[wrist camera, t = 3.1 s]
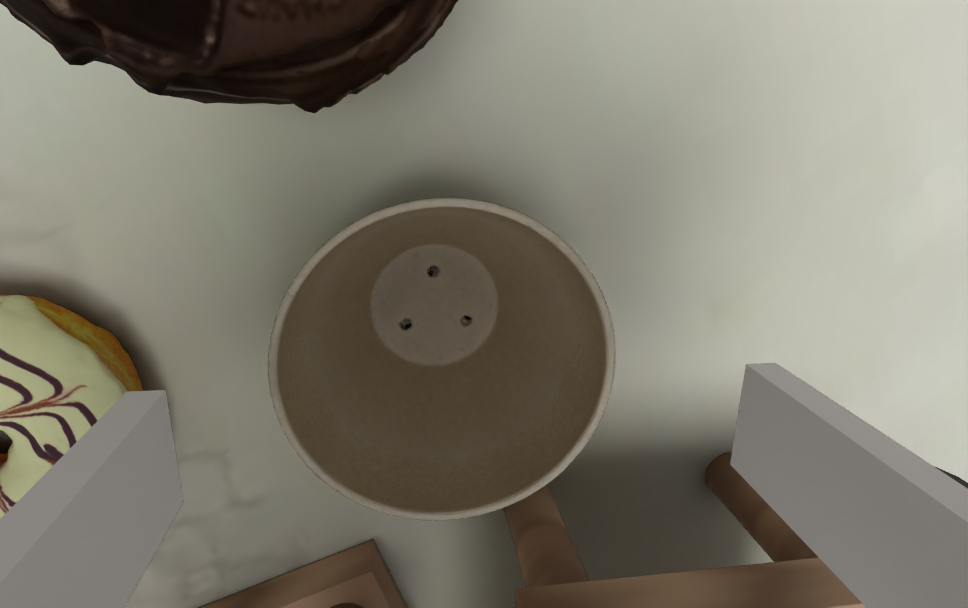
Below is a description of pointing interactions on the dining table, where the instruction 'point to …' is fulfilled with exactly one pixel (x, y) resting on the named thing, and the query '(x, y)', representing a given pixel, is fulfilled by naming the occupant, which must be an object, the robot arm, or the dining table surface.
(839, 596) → the stool
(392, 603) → the upturned stool
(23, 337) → the decorated donut
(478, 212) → the flower pot
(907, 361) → the dining table surface
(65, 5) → the coffee cup
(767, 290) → the dining table surface
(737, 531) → the dining table surface
